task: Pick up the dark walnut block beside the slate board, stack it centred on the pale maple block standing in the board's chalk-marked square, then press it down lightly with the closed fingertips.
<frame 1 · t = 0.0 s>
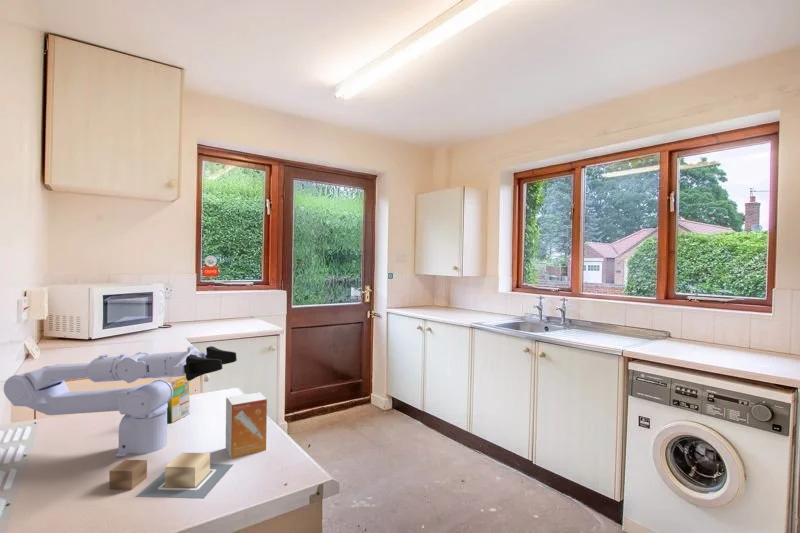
hand: (228, 360, 98), 22 cm above the counter, tool horizontal, fingers open, 7 cm apart
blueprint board: (188, 483, 85), on the counter
crayon box: (176, 418, 119), on the counter
maple block: (188, 479, 85), point 1 cm above the counter, touching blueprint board
small box: (246, 453, 99), on the counter
walnut block: (128, 487, 83), on the counter
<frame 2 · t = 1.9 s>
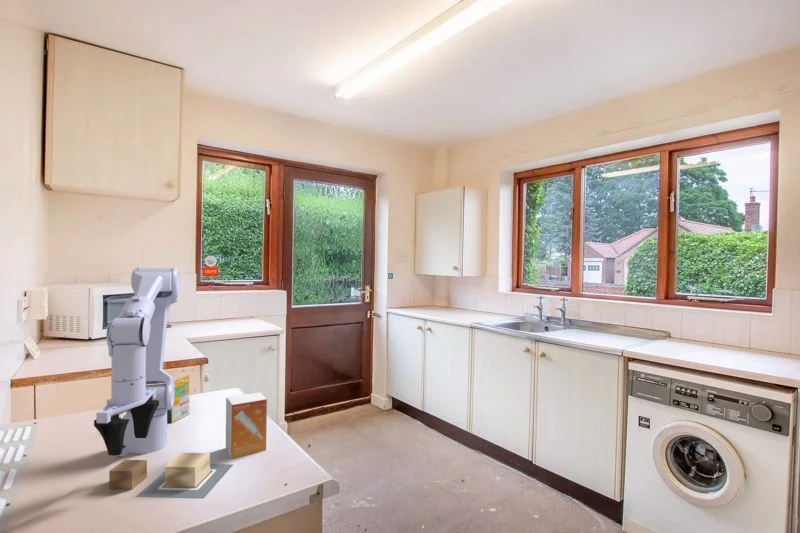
hand: (128, 445, 83), 8 cm above the counter, tool pointing down, fingers open, 7 cm apart
nothing on the counter moved.
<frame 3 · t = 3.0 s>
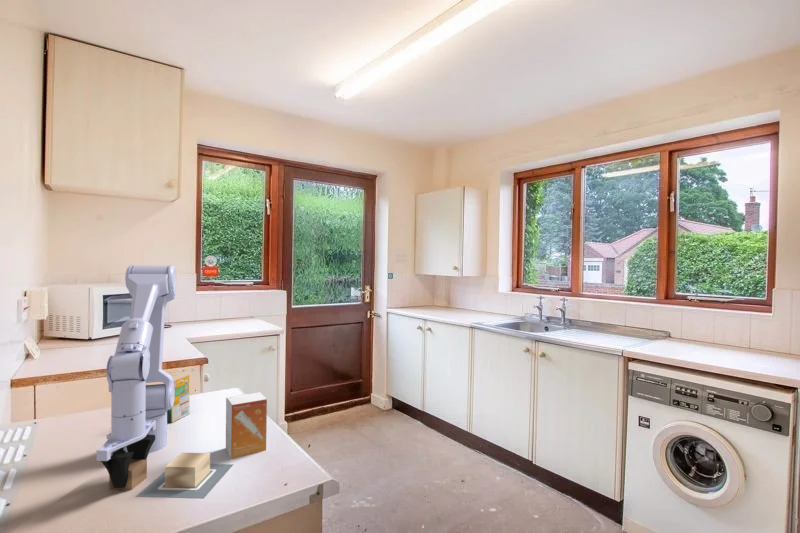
hand: (128, 480, 83), 1 cm above the counter, tool pointing down, fingers closed on walnut block, 4 cm apart
walnut block: (128, 487, 83), on the counter, touching gripper
everything else where it was.
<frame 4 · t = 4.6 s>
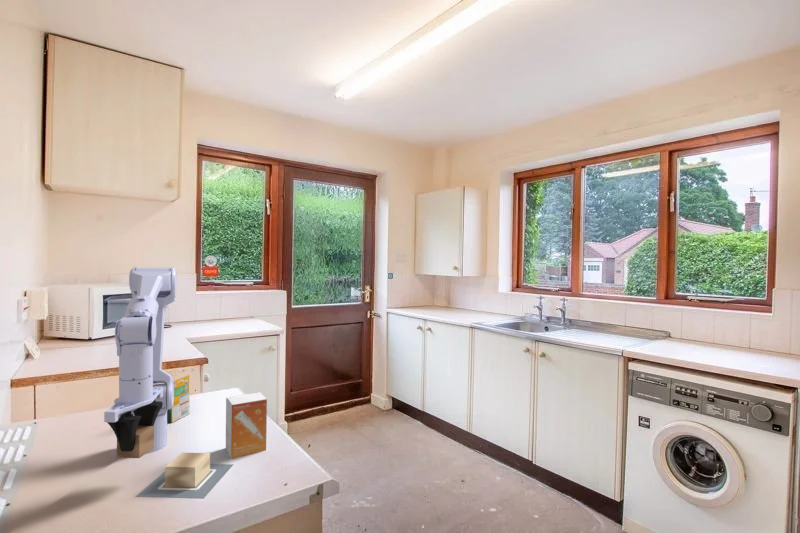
hand: (136, 444, 83), 8 cm above the counter, tool pointing down, fingers closed on walnut block, 4 cm apart
walnut block: (135, 452, 83), point 7 cm above the counter, touching gripper
everything else where it was.
when the fingers open (7 cm above the counter, at t = 6.0 s): walnut block stays where it is, resting on maple block.
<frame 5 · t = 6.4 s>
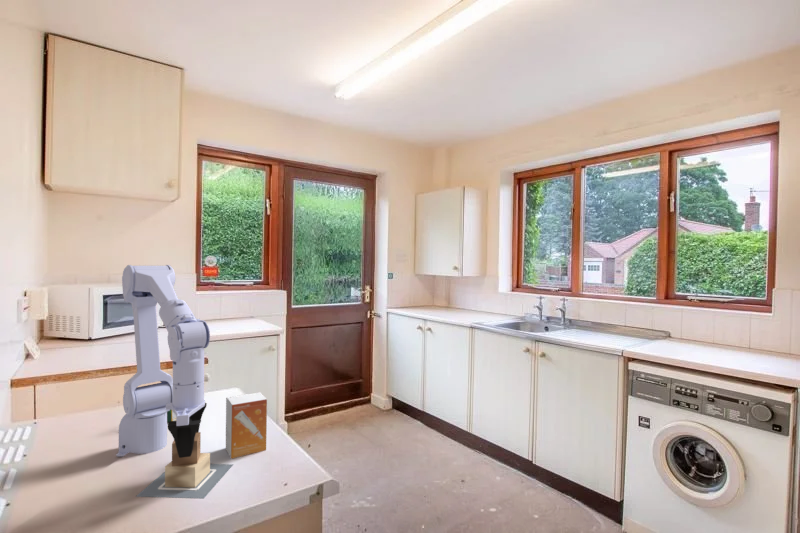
hand: (188, 447, 85), 7 cm above the counter, tool pointing down, fingers open, 7 cm apart
maple block: (188, 479, 85), point 1 cm above the counter, touching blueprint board, walnut block
walnut block: (186, 459, 85), point 5 cm above the counter, touching maple block
everything else where it was.
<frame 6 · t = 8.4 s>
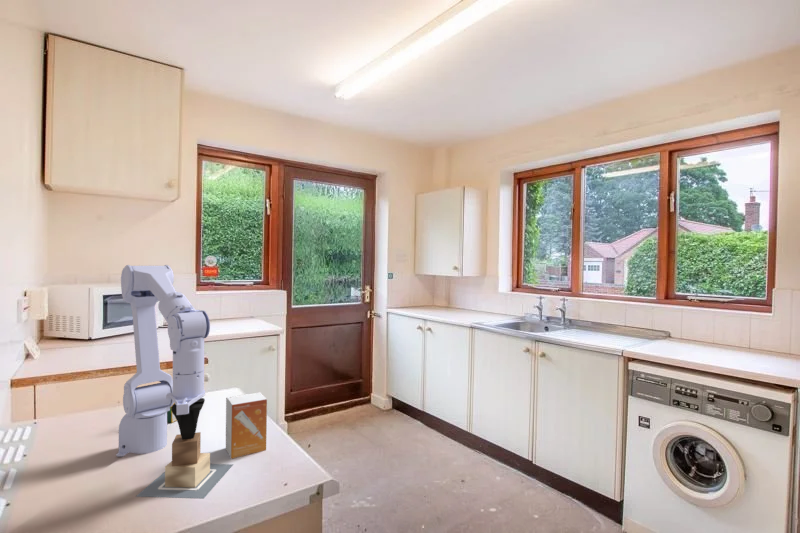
hand: (188, 437, 85), 9 cm above the counter, tool pointing down, fingers closed, pressing on walnut block
walnut block: (186, 459, 85), point 5 cm above the counter, touching gripper, maple block
everything else where it was.
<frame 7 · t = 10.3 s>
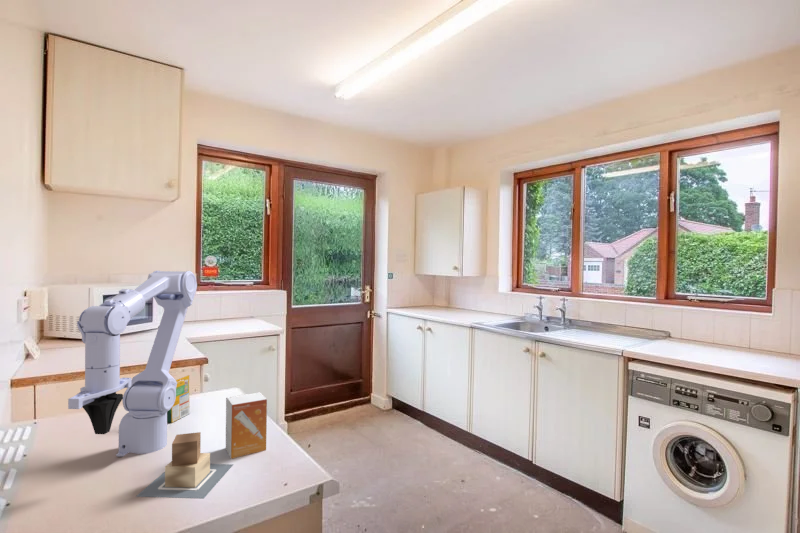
hand: (102, 432, 84), 10 cm above the counter, tool pointing down, fingers closed
walnut block: (186, 459, 85), point 5 cm above the counter, touching maple block
everything else where it was.
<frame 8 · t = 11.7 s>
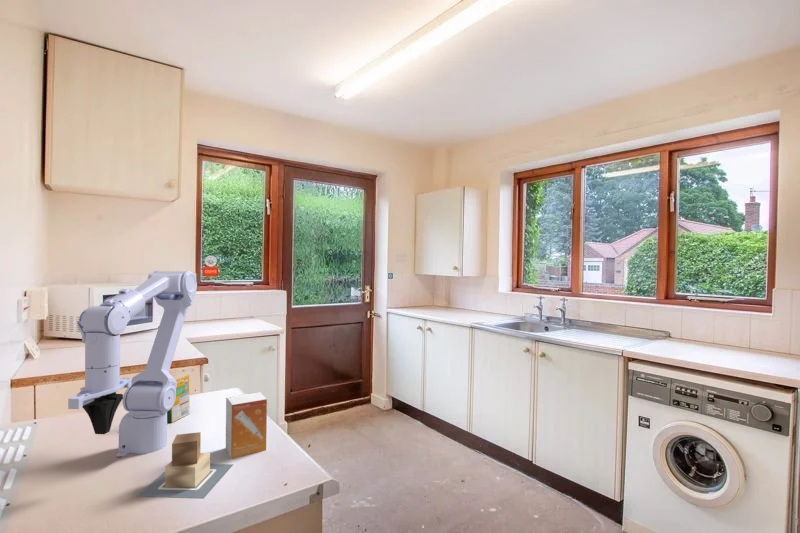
hand: (102, 432, 84), 10 cm above the counter, tool pointing down, fingers closed
nothing on the counter moved.
at the end: walnut block 0.3 cm off-centre on the maple block, point 4.0 cm above the maple block's base; walnut block tilted 0°; maple block moved 0.0 cm from its start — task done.
